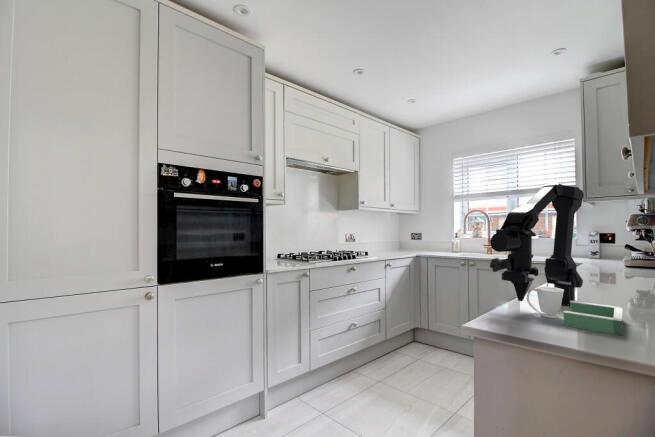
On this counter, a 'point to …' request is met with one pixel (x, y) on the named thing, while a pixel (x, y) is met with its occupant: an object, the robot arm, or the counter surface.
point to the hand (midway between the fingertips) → (520, 300)
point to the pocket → (594, 317)
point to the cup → (548, 300)
